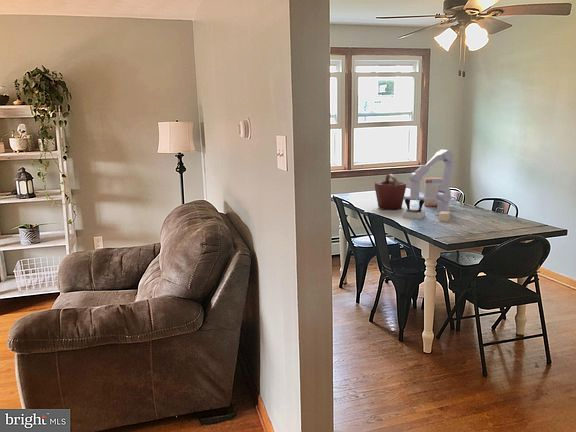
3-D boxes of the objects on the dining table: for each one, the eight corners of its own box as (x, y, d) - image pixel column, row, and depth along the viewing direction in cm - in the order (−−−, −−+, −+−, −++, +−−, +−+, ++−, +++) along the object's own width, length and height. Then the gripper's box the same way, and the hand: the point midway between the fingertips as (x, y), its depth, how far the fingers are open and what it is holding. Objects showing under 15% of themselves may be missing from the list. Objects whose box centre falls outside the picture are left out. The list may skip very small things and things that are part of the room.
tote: (407, 214, 328) (407, 208, 327) (425, 215, 322) (425, 210, 321) (402, 217, 318) (402, 211, 317) (420, 219, 312) (420, 213, 311)
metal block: (411, 214, 324) (411, 207, 323) (419, 215, 322) (420, 207, 321) (408, 216, 318) (408, 209, 317) (416, 217, 315) (416, 210, 314)
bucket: (405, 211, 337) (406, 176, 332) (374, 210, 342) (374, 176, 336) (404, 204, 361) (405, 172, 355) (374, 204, 365) (375, 172, 360)
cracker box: (442, 204, 358) (443, 177, 353) (444, 206, 352) (445, 178, 347) (423, 204, 359) (424, 177, 354) (424, 206, 353) (425, 178, 349)
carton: (441, 218, 314) (441, 210, 313) (449, 219, 312) (450, 211, 311) (438, 220, 308) (438, 213, 307) (447, 221, 305) (447, 214, 304)
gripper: (402, 191, 316) (401, 210, 319) (424, 192, 309) (423, 212, 312) (405, 189, 322) (404, 209, 325) (427, 190, 315) (426, 210, 318)
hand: (414, 210), depth 319 cm, fingers open, 7 cm apart
